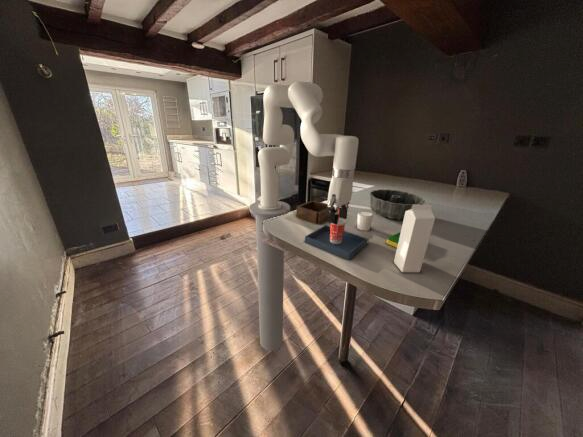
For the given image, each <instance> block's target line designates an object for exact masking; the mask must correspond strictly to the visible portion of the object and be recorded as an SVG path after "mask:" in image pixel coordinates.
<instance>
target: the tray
mask: <svg viewBox="0 0 583 437" xmlns="http://www.w3.org/2000/svg"><path fill="white" fill-rule="evenodd" d="M368 240H369V238H367V237H363V236H361V235H358V234H355V233H351V232H348V231H346V230H344V233H343V238H342V242H341V243H340V244H333V243H331V242H330V225H327V224H325V225H322V226H321V227H320V228H317V229H316V230H314V231H312V232H310V233H308V234H307V235H305V236H304V243H306V244H309V245H311V246H313V247H317V248H319V249H321V250H323V251H326V252H327V253H331V254H333V255H336V256H338V257H341V258H342V259H346V260H348V261H349V260H351V259H352V258H353V257H354V256H356V254H358V253H359V252H360V251H361V250H362V249H363V248H364V247H365V246H367V245H368Z"/></svg>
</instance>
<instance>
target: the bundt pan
mask: <svg viewBox="0 0 583 437" xmlns="http://www.w3.org/2000/svg"><path fill="white" fill-rule="evenodd" d="M369 199H370V202H369V203H370V209H371V211H372V212H373V213H375V214H377V215H379V216H382V217H383V218H388V219H391V220H393V219H396V220H397V221H400V220H404V216H405V211H407V210H411V209H412V206H413V205H414V204H420V205H424V203H425V202H426V200H425V199H424V198H423V197H421V196H419V195H417V194H414V193H410V192H407V191H403V190H397V189H376V190H375V189H373V190H372V191H369Z"/></svg>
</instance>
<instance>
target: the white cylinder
mask: <svg viewBox="0 0 583 437" xmlns="http://www.w3.org/2000/svg"><path fill="white" fill-rule="evenodd" d="M374 215H375V214H374V212H370V211H365V210H362V211H358V212H357V219H356V220H357V222H356V227H357V229H358V230H360V231H365V232H367V231H369V230H370V229H371V226H372V223H373V218H374Z"/></svg>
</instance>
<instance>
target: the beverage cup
mask: <svg viewBox="0 0 583 437" xmlns="http://www.w3.org/2000/svg"><path fill="white" fill-rule="evenodd" d="M338 214H340V207H339V210H338ZM329 224H330V225H329V226H330V242H331V243H333V244H340V243H341V242H342V238H343V233H344V231H345V228H346V224H347V219H343V218H339V215H338V224H333V223H330V222H329Z"/></svg>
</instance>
